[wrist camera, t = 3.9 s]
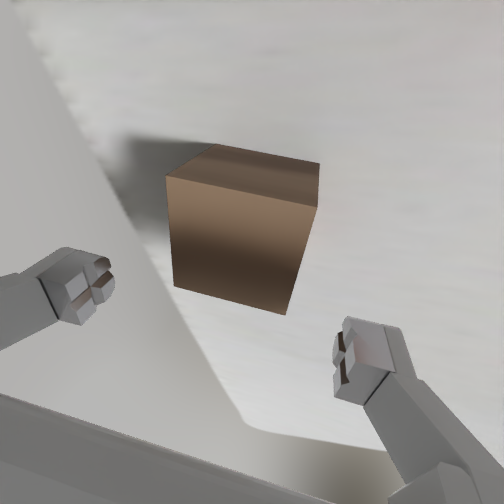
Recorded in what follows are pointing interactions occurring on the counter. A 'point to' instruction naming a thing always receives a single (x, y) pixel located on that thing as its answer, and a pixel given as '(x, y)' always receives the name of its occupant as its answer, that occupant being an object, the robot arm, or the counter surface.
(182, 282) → the walnut cube
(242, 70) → the counter surface
